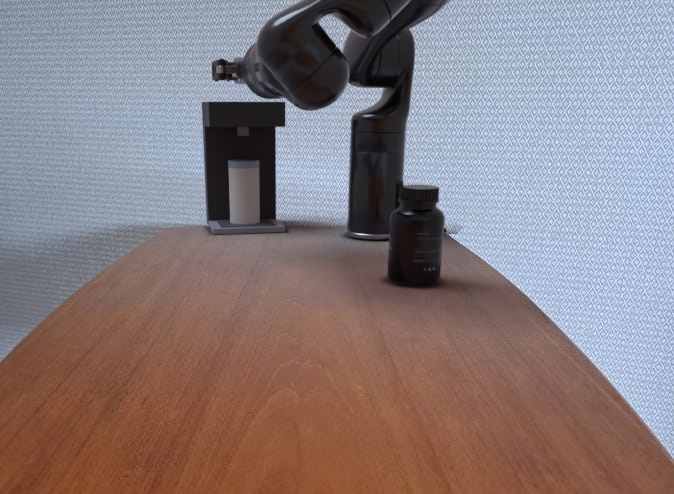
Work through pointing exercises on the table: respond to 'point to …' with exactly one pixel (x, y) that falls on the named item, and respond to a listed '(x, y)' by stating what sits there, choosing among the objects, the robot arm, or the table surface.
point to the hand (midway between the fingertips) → (255, 73)
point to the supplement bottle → (416, 237)
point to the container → (244, 191)
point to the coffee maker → (240, 143)
